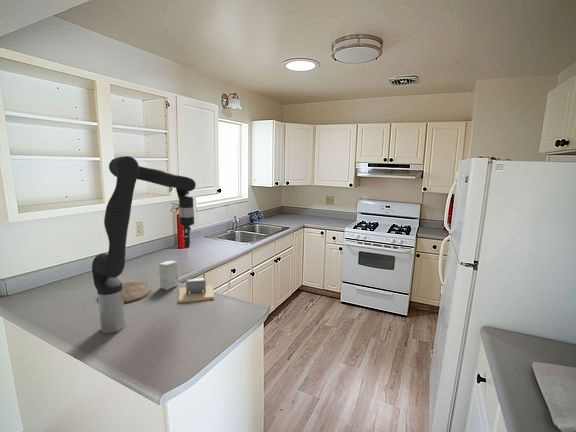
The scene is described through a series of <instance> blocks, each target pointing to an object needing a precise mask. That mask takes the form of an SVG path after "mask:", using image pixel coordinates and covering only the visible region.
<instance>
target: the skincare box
mask: <svg viewBox="0 0 576 432" xmlns="http://www.w3.org/2000/svg"><path fill="white" fill-rule="evenodd" d="M158 266H159V285H160V287H159V288H160V289H163V290H166V291H167V290H168V291H169V290H170V289H173V288H174V287H177V286H179V278H178V277H179V276H178V275H179V274H178V261H175V260H166V261H164V262H160V263H159V265H158Z"/></svg>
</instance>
